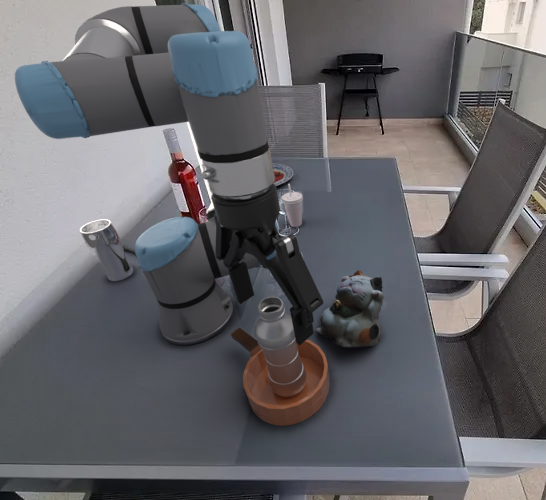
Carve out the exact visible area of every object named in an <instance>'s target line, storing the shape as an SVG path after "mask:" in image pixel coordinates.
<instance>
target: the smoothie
mask: <svg viewBox="0 0 546 500" xmlns="http://www.w3.org/2000/svg"><path fill="white" fill-rule="evenodd" d="M287 185H288V192H286V193H284V194H283V195H282V196H281V202H282V203H283V206H284V208H285V209H284V210H285V212H286V215H287V219H288V222H289V225H290V227H292V228H297V227H301V226H302V224H303V199H304V197H303V194H302V193H301V192H298V191H292V189H291V183H287Z"/></svg>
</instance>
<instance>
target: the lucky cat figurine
mask: <svg viewBox="0 0 546 500" xmlns="http://www.w3.org/2000/svg"><path fill="white" fill-rule="evenodd" d="M334 297H335V300H334V301H333V303H332V305H331V306H329V307H327V308H326V309H325V310H323V312H322V313H321V314H320V317H319V322H320V325H319V327H316V328H315V330H316V332H317V333H318V334H319V335H323V336H325V337H326V338H329V340H330V341H332V342H333V343H334V344H335V345H337V346H339V347H340V346H341V347H342V348H361V347H362V348H363V347H372V346H375V345H378V344H379V343H380V339H381V332H382V329H383V328H382V324H381V320H380V312H381V310H382V306H383V302H384V299H385V298H384V297H385V295H384V292H383V279H382V276H376V277H370V276H368V275H364V273H363V271H361V270H360V269H357V270H356V271H355V272H354V273H353V274H351V275H345V276H341V283H340V284H339V285H338V286H337V288H336V293H335V296H334Z"/></svg>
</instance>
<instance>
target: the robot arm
mask: <svg viewBox="0 0 546 500" xmlns="http://www.w3.org/2000/svg"><path fill="white" fill-rule="evenodd" d="M258 76H259V72H258V66H256V63H255V59H254V56H253V52H252V47H251V42H250V40H249V38H248V37H247V36H246V34H245V33H243V32H241V31H239V30H221V27H220V26H219V23H218V21H217V19H216V17H215V15H214V13H213V12H212V10H211V9H210V8H208V7H207V6H206V5H204V4H197V3H196V4H194V3H193V4H189V3H187V2H183V3H181V4H167V5H139V6H138V5H137V6H132V5H129V6H119V7H115V8H111V9H107V10H105V11H102V12H100V13H98V14H95V15H94V16H92V17H90V18H88V19H86V20H84V22H82V23H81V24H80V26H79V27H78V28H77V29H76V32H75V35H74V46H73V47H72V49H71V50H70V51H69V52H68V53H67V55H65V56H64V58H63V59H62V60H61V61H48V60H42V61H41V62H40V63H31V64H24V65H19V66H18V67H17V68H16V70H15V71H14V85H15V88H16V92H17V95H18V99H20V102H21V105H22V107H23V108H24V110H25V112H26V114H27V115H28V116H29V118H30V120H31V121H32V123H33V124H34V126H35V127H36V128H37V129H38V130H39V131H40V132H41V133H42V134H44V135H45V136H46V137H48V138H51V139H53V140H64V139H74V138H75V139H76V138H83V139H87V138H90V137H94V136H100V135H101V136H103V135H108V134H114V133H120V132H127V131H133V130H134V131H135V130H141V129H147V128H153V127H162V126H169V125H176V124H177V125H178V124H182V123H186V125H187V128H188V131H189V135H190V137H191V141H192V144H193V148H194V152H195V154H196V158H197V161H198V164H199V167H200V172H201V177H202V178H203V181H204V184H205V188H206V191H207V194H208V198H209V201H210V204H209V207H208V208H207V209H206V211H205V215H206V218H207V221H206V222H201V223H198V222H197V221H196V220H195V219H193V218H192V217H189V216H183V217H182V216H175V217H171V218H168V219H164V220H162V221H159V222H157V223H155V224H154V225H152V226H150V227H149V228H147V229H146V230H145V231H144V232H143V233H141V234H140V236H138V238H137V240H136V241H135V243H134V249H132V248H129V247H126V246H123V245H122V246H123V250H124V251H126V252H129V253H132V254H134V255H135V257H136V259H137V261H138V267H139V269H140V270H141V271H142V273H143V274H144V276H145V279H146V280H147V282H148V283H147V284H149V287H150V289H151V291H152V293H153V296H154V298H156V301H157V303H158V325H159V330H160V332H161V334H162V336H163V338H164V339H165V340H166V341H167V342H169V343H171V344H174V345H178V346H192V345H196V344H199V343H204V342H206V341H208V340H210V339H213V338H214V337H215V336H217V335H218V334H220V333H221V332H222V331H224V330H225V329H226V328H227V327H228V325H229V324H230V323H231V321H232V319H233V317H234V312H235V311H234V305H233V302H232V298H231V296H230V295H229V294H227V293H226V291H225V290H223V289H222V287H221V286H220V285H219V284H218V283H217V281H216V280H217V279H220V278H224V277H228V276H229V278H230V281H231V284H232V287H233V291H234V294H235V297H236V301H237V303H238V304H240V305H243V303H246V302H247V301H249V300H250V299H251V298H253V297H254V296H255V292H254V288H253V283H252V280H251V278H250V277H251V276H250V273H249V270H252V269H256V268H260V267H262V268H263V269H266V270H268V271H269V272H270V274H271V275H272V277H273V278H274V280H275V281H276V283H277V284H278V287H280V289H281V291H282V292H283V294H284V295H285V297H286V299H287V300H288V301H289V303H290V305H291V307H290V308H289V314H290V316H291V318H292V323H293V329H294V334H295V339H296V343H297V344H299V345H301V344H302V343H303V342H305V341H306V340H309V338H310V337H312V336H313V335H314V326H313V323H314V312H315V311H316V310H318V309H319V308H320V307H321V306H322V305H323V304H324V300H323V297H322V295H321V293H320V291H319V289H318V287H317V285H316V282H315V280H314V278H313V277H312V274H311V272H310V270H309V268H308V266H307V264H306V262H305V260H304V257H303V255H302V253H301V250H300V247H299V242H298V239H297V237H296V235H295V234H294V233H289V234H288V235H287V236H283V235H280V233H279V229H278V222H277V219H278V217H279V215H280V213H281V206H280V200H279V194H278V190H277V189H278V188H277V186H276V185H275V184H274V181H275V174H274V169H273V164H274V163H273V159H272V153H271V148H270V145H269V141H268V136H267V135H268V134H267V128H266V123H265V117H264V111H263V106H262V100H261V94H260V87H259V82H258V81H259V80H258Z"/></svg>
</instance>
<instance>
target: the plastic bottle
mask: <svg viewBox="0 0 546 500" xmlns="http://www.w3.org/2000/svg"><path fill="white" fill-rule="evenodd" d="M257 310H258V317H259V318H258V320H257V322H256V324H255V327H254V338H255V339H256V340H257V342H258V344H259V345H260V347H261V349H262V351H263V353H264V356H265V358H266V361H267V366H268V381H269V385H270V387H271V388H272V390H273V391H274V393H276V394H277V395H279V396H282V397H291V396H294V395H296V394H298V393H299V392H300V391H301V390H302V389H303V388H304V386H305V384H306V377H307V373H306V370H305V368H304V365H303V364H302V362H301V359H300V356H299V353H298V346H297V343H296V339H295V334H294V329H293V323H292V318H291V314H290V313H287V312H286V309H285V306H284V302H283V299H281V298H280V297H278V296H267V297H265V298H263V299H261V300H260V301H259V302H258V305H257Z"/></svg>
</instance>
